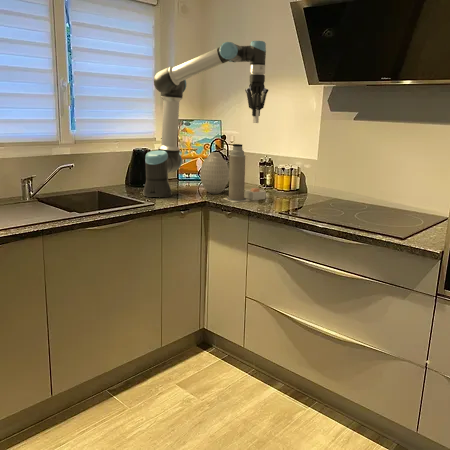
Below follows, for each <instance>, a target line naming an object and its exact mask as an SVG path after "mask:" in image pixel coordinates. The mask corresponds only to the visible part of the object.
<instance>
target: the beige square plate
mask: <svg viewBox="0 0 450 450" xmlns="http://www.w3.org/2000/svg"><path fill="white" fill-rule="evenodd" d="M223 200H225V201H228V202H231V203H241V202H249V201H250V202H251V199H248V198H245V197H244V199H243V200H231V199H229V197H223Z"/></svg>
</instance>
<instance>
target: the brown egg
mask: <svg viewBox="0 0 450 450" xmlns="http://www.w3.org/2000/svg"><path fill="white" fill-rule="evenodd" d="M250 190H251V191H253V192H258V191H259V190H260V188H258V187H253V188H250Z"/></svg>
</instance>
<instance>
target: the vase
mask: <svg viewBox="0 0 450 450" xmlns="http://www.w3.org/2000/svg"><path fill="white" fill-rule="evenodd" d="M199 173H200V174H199V175H200V181H201V184H202V187H204V189H205V190H206V191H207V192H208V194H215V195H216V194H217V195H218V194H221V193H222V192H223V191H224V190H225V189H226V186H227V185H229V164H228V163H227V161H226V160H225V159H224V158H223V156H221V153H220V152H217V151H216V152H215V151H213V152H210V153H209V156H207V157H206V158H205V160H203V162H202V164H201V167H200V170H199Z"/></svg>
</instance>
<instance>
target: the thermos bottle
mask: <svg viewBox="0 0 450 450" xmlns="http://www.w3.org/2000/svg"><path fill="white" fill-rule="evenodd" d="M228 168H229V181H228V198H229V199H231V200H243V199H244V198H245V185H246V184H245V180H246V177H245V176H246V155H245V151H244V150H243V144H240V143H236V144H235V143H233V144H232V150H231V151H230V155H229V164H228Z"/></svg>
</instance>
